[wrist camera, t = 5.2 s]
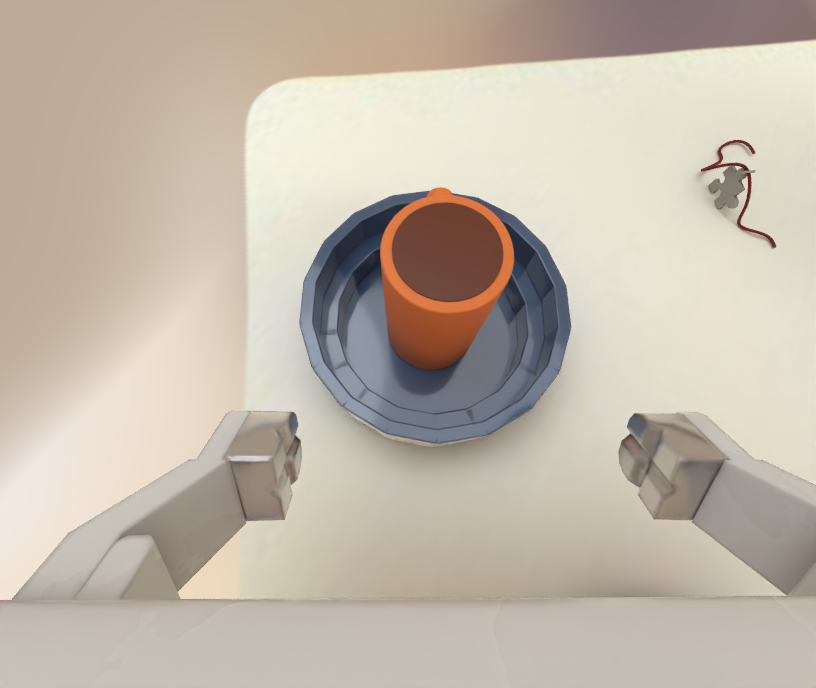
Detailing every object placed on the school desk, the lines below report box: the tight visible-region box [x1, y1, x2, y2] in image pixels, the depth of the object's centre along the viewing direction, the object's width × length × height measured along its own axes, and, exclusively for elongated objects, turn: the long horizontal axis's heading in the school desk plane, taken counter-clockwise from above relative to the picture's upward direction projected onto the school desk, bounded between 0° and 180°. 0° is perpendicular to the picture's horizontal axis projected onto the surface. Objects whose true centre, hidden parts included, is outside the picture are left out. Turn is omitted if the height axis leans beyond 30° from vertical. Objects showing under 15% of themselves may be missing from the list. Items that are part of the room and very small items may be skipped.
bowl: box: [300, 191, 571, 447], centre depth 19 cm, size 12×12×4 cm
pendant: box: [701, 140, 776, 248], centre depth 23 cm, size 8×4×3 cm, turn 6°
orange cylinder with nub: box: [380, 188, 514, 370], centre depth 17 cm, size 6×5×8 cm
